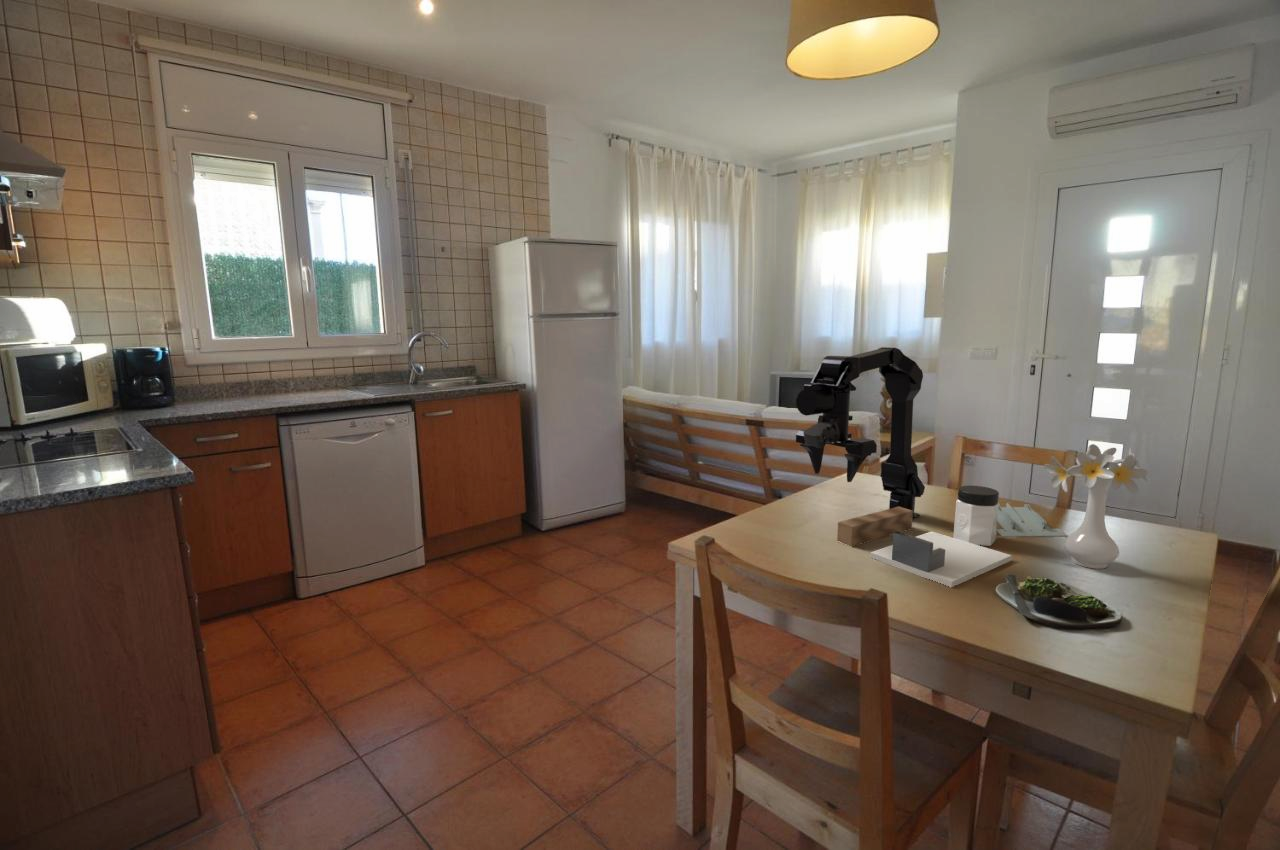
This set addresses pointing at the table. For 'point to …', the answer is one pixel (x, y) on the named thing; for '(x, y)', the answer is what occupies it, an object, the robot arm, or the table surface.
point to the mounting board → (951, 559)
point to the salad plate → (1058, 604)
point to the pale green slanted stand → (1024, 523)
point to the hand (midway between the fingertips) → (832, 477)
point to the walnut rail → (874, 525)
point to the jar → (976, 515)
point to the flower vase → (1096, 501)
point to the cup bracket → (916, 552)
